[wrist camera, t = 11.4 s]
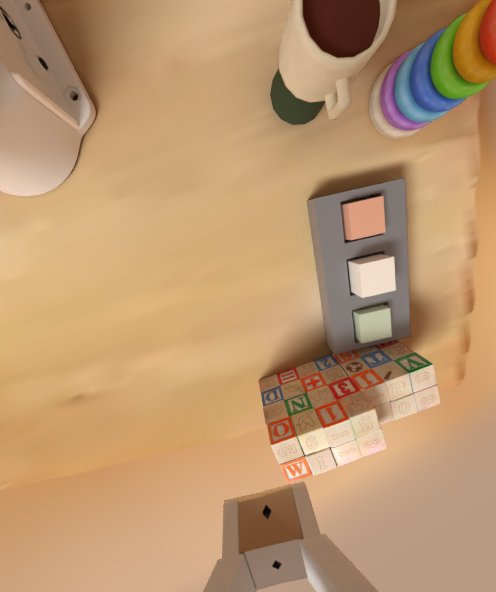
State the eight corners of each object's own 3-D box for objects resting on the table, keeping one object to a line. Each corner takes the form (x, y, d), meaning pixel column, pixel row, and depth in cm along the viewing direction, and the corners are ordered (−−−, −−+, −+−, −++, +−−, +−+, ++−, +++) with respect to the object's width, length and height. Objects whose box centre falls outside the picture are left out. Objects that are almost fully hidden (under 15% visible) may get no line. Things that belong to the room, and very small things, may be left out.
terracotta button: (337, 205, 32) (348, 203, 29) (369, 198, 32) (383, 195, 29) (340, 238, 33) (351, 240, 30) (371, 231, 33) (385, 232, 30)
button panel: (306, 200, 32) (314, 198, 29) (389, 182, 33) (405, 177, 30) (327, 344, 38) (335, 354, 35) (396, 328, 38) (410, 336, 36)
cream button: (347, 261, 32) (359, 264, 30) (379, 253, 32) (394, 256, 30) (351, 291, 34) (362, 298, 31) (381, 284, 34) (395, 290, 31)
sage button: (348, 307, 36) (359, 315, 33) (377, 301, 36) (390, 307, 33) (351, 334, 37) (361, 343, 34) (379, 327, 37) (391, 336, 34)
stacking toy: (374, 152, 31) (570, 55, 13) (357, 81, 29) (564, -149, 11) (434, 125, 31) (717, -11, 13) (421, 51, 29) (739, -234, 11)
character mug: (334, 139, 31) (407, 80, 18) (278, 156, 31) (313, 109, 18) (316, 31, 28) (389, -129, 15) (254, 49, 28) (276, -95, 15)
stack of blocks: (387, 331, 39) (457, 378, 27) (394, 365, 40) (463, 423, 29) (257, 380, 39) (270, 447, 27) (270, 410, 41) (287, 486, 29)
